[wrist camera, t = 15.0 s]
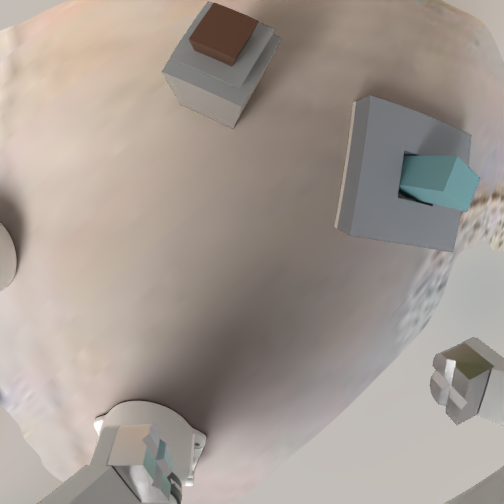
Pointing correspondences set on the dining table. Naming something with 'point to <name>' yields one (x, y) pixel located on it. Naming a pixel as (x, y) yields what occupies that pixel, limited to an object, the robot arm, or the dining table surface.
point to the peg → (438, 181)
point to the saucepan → (6, 259)
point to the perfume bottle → (220, 62)
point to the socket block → (395, 175)
